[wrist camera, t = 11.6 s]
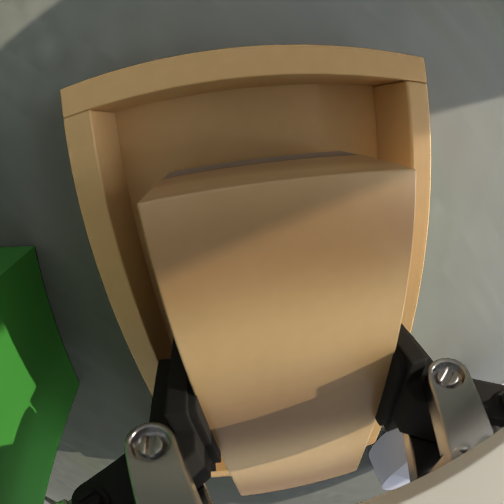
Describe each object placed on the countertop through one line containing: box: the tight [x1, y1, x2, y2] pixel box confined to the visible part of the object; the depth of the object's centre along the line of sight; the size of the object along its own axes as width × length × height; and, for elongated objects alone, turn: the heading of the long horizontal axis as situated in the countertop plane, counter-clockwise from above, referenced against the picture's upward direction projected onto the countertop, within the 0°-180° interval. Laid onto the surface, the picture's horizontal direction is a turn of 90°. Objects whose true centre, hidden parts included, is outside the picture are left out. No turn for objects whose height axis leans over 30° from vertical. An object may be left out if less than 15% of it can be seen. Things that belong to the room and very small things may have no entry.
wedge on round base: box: [369, 384, 504, 490], centre depth 15 cm, size 9×7×13 cm
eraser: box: [137, 151, 416, 496], centre depth 9 cm, size 12×5×4 cm, turn 7°
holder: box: [60, 44, 431, 477], centre depth 10 cm, size 18×10×3 cm, turn 7°
